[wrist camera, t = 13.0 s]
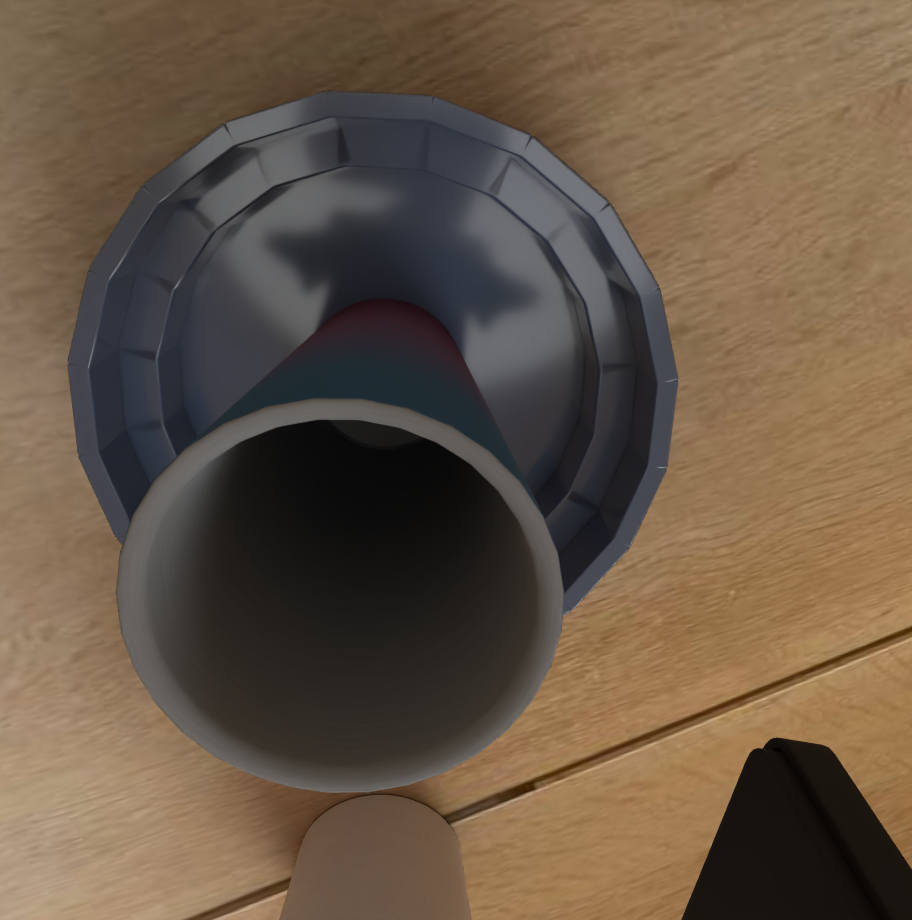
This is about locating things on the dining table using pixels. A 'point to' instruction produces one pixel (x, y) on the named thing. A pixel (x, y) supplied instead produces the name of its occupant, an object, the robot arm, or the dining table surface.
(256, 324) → the bowl
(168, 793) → the dining table surface
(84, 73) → the dining table surface
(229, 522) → the cup
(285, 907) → the coffee cup
